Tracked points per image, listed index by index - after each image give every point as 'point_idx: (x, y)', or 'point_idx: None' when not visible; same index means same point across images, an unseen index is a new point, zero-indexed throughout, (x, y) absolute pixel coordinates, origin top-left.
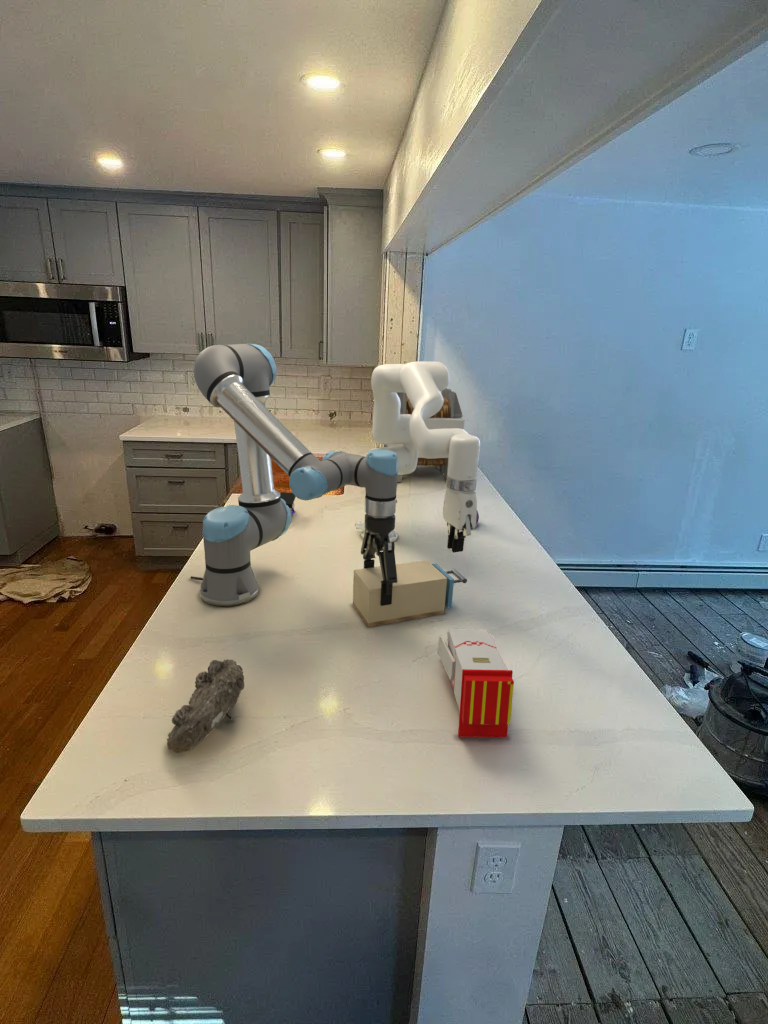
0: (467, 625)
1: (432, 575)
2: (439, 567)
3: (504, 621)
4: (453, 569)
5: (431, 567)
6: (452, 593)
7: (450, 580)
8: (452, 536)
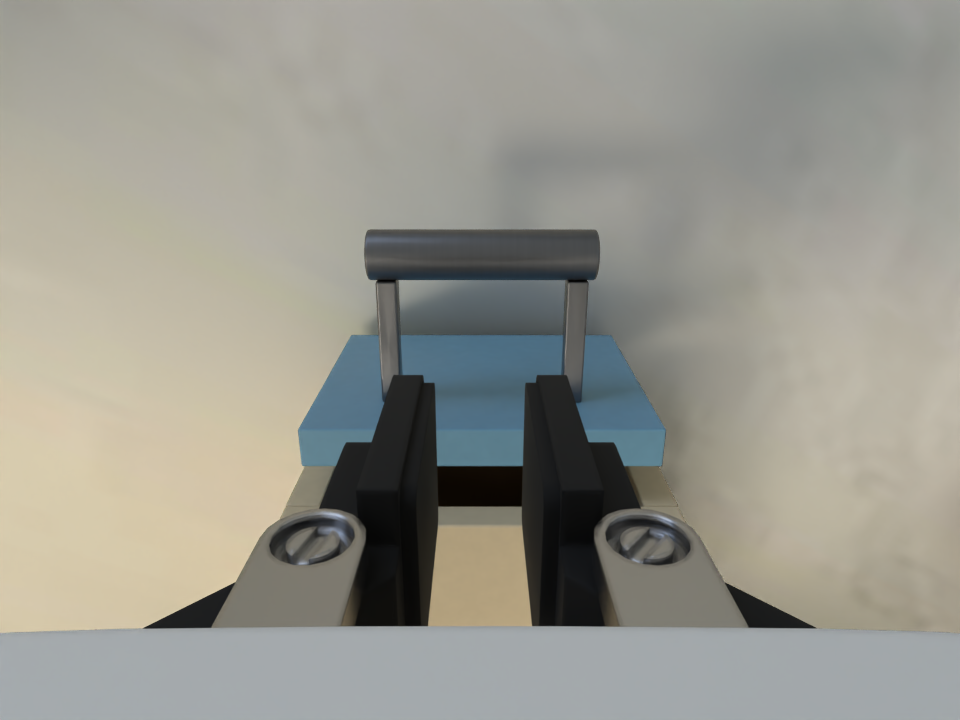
0: (795, 315)
1: None
2: None
3: (881, 38)
4: (381, 268)
5: (443, 558)
6: (634, 378)
7: (661, 461)
8: (425, 622)
